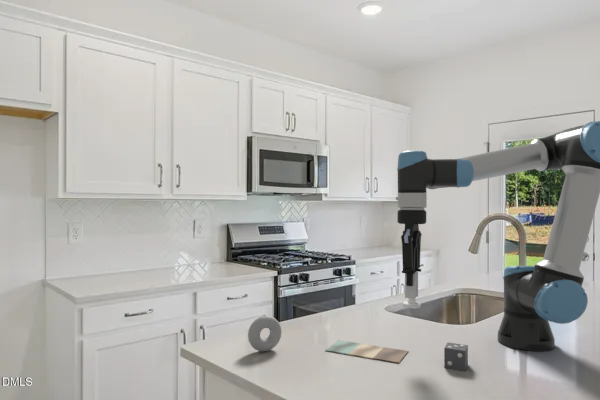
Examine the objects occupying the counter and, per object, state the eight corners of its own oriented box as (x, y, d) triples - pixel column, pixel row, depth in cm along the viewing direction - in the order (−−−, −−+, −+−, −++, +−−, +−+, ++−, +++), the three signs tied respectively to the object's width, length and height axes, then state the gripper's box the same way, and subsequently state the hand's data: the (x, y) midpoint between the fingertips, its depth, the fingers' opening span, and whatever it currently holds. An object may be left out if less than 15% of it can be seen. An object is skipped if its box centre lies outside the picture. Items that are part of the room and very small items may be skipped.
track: (408, 352, 124) (408, 350, 124) (398, 363, 115) (398, 362, 115) (338, 341, 134) (338, 340, 134) (325, 351, 125) (325, 349, 125)
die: (467, 364, 115) (467, 344, 115) (465, 371, 110) (465, 350, 110) (447, 361, 117) (447, 342, 117) (444, 367, 112) (444, 347, 112)
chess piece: (421, 308, 116) (421, 270, 116) (402, 307, 117) (402, 269, 117) (420, 304, 121) (420, 267, 121) (401, 303, 122) (401, 267, 122)
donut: (250, 356, 121) (250, 319, 121) (246, 352, 124) (246, 316, 124) (283, 350, 126) (283, 315, 126) (278, 346, 129) (278, 312, 129)
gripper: (404, 208, 127) (404, 290, 127) (390, 209, 114) (390, 301, 114) (431, 208, 124) (431, 293, 124) (419, 209, 110) (419, 304, 110)
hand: (411, 296), depth 119 cm, fingers closed on chess piece, 2 cm apart
